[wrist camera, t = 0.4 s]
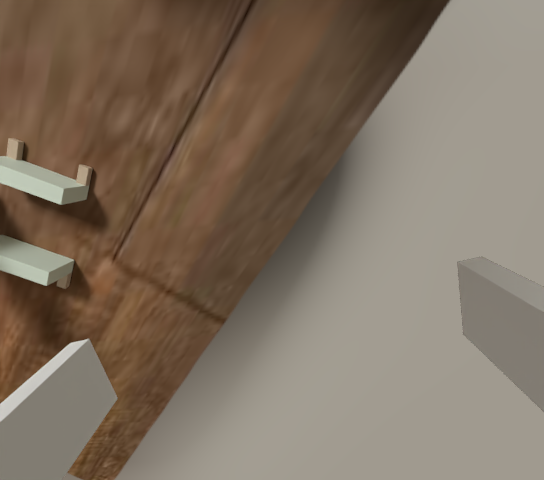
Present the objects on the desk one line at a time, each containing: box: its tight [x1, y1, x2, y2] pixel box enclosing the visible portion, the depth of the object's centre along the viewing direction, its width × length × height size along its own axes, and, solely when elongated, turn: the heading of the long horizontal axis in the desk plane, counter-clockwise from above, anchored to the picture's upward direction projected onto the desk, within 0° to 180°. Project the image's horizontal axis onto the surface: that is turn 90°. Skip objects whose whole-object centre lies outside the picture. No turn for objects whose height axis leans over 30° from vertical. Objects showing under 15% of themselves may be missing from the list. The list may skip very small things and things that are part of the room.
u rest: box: [0, 138, 93, 289], centre depth 36 cm, size 10×18×4 cm, turn 159°
